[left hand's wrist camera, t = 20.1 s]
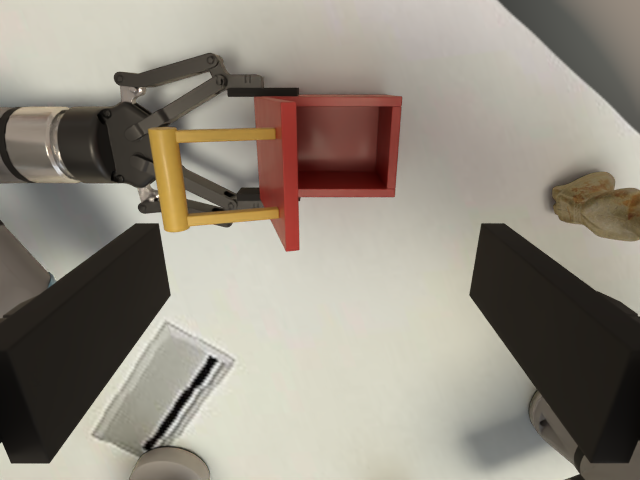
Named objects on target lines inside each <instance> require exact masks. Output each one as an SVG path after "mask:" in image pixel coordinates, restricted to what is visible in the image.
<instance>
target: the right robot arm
mask: <svg viewBox="0 0 640 480" xmlns="http://www.w3.org/2000/svg"><path fill="white" fill-rule="evenodd" d="M209 71H210V73H211V75H212V77H213V78H211V79H209V80H208V81H206V82H205V83H203V84H201V85H200V86H198V87H196V88H195V89H193V90H192V91H190V92H188V93H187V94H185V95H184V96H182V97H180V98H179V99H177V100H175V101H174V102H172V103H171V104H169V105H167V106H166V107H164V108H162V109H160V110H158V111H156V112H154V113H153V114H152V113H151V112H149V111H148V110H146V109H145V108H144V107H142V106H141V105H139V104H138V103H136V99H137V98H138V97H139V96H143V95H144V94H145V93H146V87H157V86H161V85H164V84H168V83H171V82H175V81H178V80H181V79H185V78H188V77H192V76H195V75H199V74H202V73H206V72H209ZM114 80H115V82H116V84H118V85H120V89H121V100H122V102H120V103H118V104H117V105H115V106H113V107H72V108H68V107H16V108H5V107H0V184H1V183H80V182H83V183H126V184H130V185H132V186H134V187H136V188H138V192H139V195H140V199H141V203H140V204H139V205H138V209H139V211H140V212H141V213H145V214H146V213H156V212H161V206H160V200H159V194H158V190H154V189H152V188H151V186H150V184H151V183H152V182H153V181H155V180H156V176H155V170H154V164H153V157H152V151H151V145H150V139H149V133H148V129H149V128H156V127H168V125H169V124H171V123H173V122H174V121H176V120H178V118H180V117H182V116H183V115H185V114H187V113H188V112H190V111H192V110H193V109H195V108H196V107H198V106H200V105H201V104H203V103H205V102H206V101H208V100H210V99H211V98H213V97H215V96H216V95H218V94H220V93H221V92H223V91H225V90H226V89H227V91H228V97H261V96H299V88H264V79H263V77H261V76H259V75H231V74H229V73H228V72H227V70H226V68H225V66H224V64H223V59H222V57H220V56H219V55H216V54H213V53H207V54H204V55H200V56H197V57H194V58H190V59H187V60H183V61H180V62H177V63H173V64H170V65H166V66H163V67H159V68H156V69H153V70H149V71H146V72H142V73H128V72H117V73H115V75H114ZM182 171H183V178H184V186H185V189H186V190H188V191H190V192H192V193H194V194H196V195H198V196H200V197H202V198H204V199H206V200H208V201H210V202H212V203H214V204H216V205H218V206H221V207H217V206H213V205H209V204H205V203H201V202H196V201H192V200H188V199H186V200H187V208H188V214H192V213H204V212H217V211H230V210H242V209H255V208H265V207H264V205H263V203H262V201H261V199H260V189H259V188H241V189H240V190H239V191H238V193H237V194H236V193H233V192H231V191H229V190H227V189H225V188H223V187H221V186H219V185H217V184H215V183H213V182H211V181H209V180H207V179H205V178H203V177H201V176H199V175H197V174H195V173H193V172H191V171H189V170H187V169H185V167H184V166H182ZM298 201H300V197H298ZM222 207H223V208H222ZM232 223H233V222H232ZM232 223H220V224H214V225H218V226H222V227H230V226H231V225H232ZM54 283H56V280H55V278H54V276H53V275H52V274H51V273H50V272H47V271H46V270H45V269H44V268H43V267H42V266H41V265H40V263H39V262H38V261H37V260H36V259H35V258H34V257H33V256H32V255H31V254H30V253H29V252H28V251H27V249H26V248H25V247H24V246H23V245H22V244H21V243H20V242H19V241H18V240H17V239H16V238H15V237H14V235H13V234H12V233H11V232H10V231H9V230H8V229H7V228H6V227H5V225H4V223H3V222H2V221H1V220H0V318H3V315H4V314H6V313H7V312H9V311H10V310H11V309H13V308H14V307H16V306H17V305H18V304H20V303H22V302H24V301H26V300H28V299H30V298H32V297H35V296H37V295H39V294H41V293H42V292H43V291H45V290H46V289H47V288H49V287H50V286H52V285H53V284H54Z"/></svg>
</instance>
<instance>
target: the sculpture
mask: <svg viewBox="0 0 640 480" xmlns="http://www.w3.org/2000/svg"><path fill="white" fill-rule="evenodd" d="M614 186H615V179H614V177H613V176H612V175H611V174H609V173H607V172H595V173H591V174H588V175H586V176H583V177H581V178H579V179H577V180H575V181H573V182H571V183H569V184H566V185H563V186H561V185H558V186H556V187H554V188H553V189H552V197H553V199H554V200H555V201H556V203H555V204H554V205H553V208H554V212H555V214H557V215H558V217H559V219H560V220H561V221H565V222H567V223H573V224H582V225H585V226H586V227H587V228H588V229H590V230H591V231H592V232H593V233H594V234H596V235H597V236H600V237H603V238H609V239H615V240H622V241H637V240H640V190H638V189H635V188H623V189H617V190H614Z"/></svg>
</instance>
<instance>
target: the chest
mask: <svg viewBox="0 0 640 480" xmlns="http://www.w3.org/2000/svg"><path fill="white" fill-rule="evenodd" d="M261 97H269V98H275V99H281V100H287V101H293V102H296V116H297V162H298V197H395V185H396V172H397V159H398V146H399V133H400V120H401V106H402V97H401V96H392V95H299V96H261Z"/></svg>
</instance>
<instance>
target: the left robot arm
mask: <svg viewBox="0 0 640 480" xmlns="http://www.w3.org/2000/svg"><path fill="white" fill-rule="evenodd" d="M170 295H171V294H170V289H169V283H168V277H167V271H166V265H165V259H164V253H163V247H162V241H161V235H160V229H159V223H136V224H134V225H133V226H132V227H130V228H129V229H128V230H126V231H125V232H124V233H122V234H121V235H119V236H118V237H117V238H115V239H114V240H113V241H111V242H110V243H109V244H107V245H106V246H104V247H103V248H102V249H100V250H99V251H98V252H96V253H95V254H94V255H92V256H91V257H90V258H88V259H87V260H85V261H84V262H83V263H81V264H80V265H79V266H77V267H76V268H75V269H73V270H72V271H71V272H69V273H68V274H66V275H65V276H64V277H62V278H61V279H60V280H58V281H57V282H56V283H54V284H53V285H52V286H50V287H49V288H47V289H46V290H45V291H43V292H42V293H41V294H39V295H37V296H35V297H32V298H30V299H28V300H26V301H24V302H22V303H20V304H18V305H17V306H16V307H14V308H13V309H11V310H10V311H9V312H7V313H6V314H4V315H3V318H0V443H1V442H2V443H3V445H4V448H5V450H6V452H7V455H8V457H9V459H10V462H11V463H50V462H51V461H52V459H53V458H54V456H55V455H56V454H57V452H58V451H59V449H60V448H61V447H62V445H63V444H64V443H65V441H66V440H67V438H68V437H69V436H70V434H71V433H72V431H73V430H74V429H75V427H76V426H77V424H78V423H79V422H80V420H81V419H82V418H83V416H84V415H85V413H86V412H87V411H88V409H89V408H90V406H91V405H92V404H93V402H94V401H95V399H96V398H97V397H98V395H99V394H100V393H101V391H102V390H103V388H104V387H105V386H106V384H107V383H108V381H109V380H110V379H111V377H112V376H113V374H114V373H115V372H116V370H117V369H118V368H119V366H120V365H121V363H122V362H123V361H124V359H125V358H126V356H127V355H128V354H129V352H130V351H131V350H132V348H133V347H134V345H135V344H136V343H137V341H138V340H139V338H140V337H141V336H142V334H143V333H144V331H145V330H146V329H147V327H148V326H149V325H150V323H151V322H152V320H153V319H154V318H155V316H156V315H157V313H158V312H159V311H160V309H161V308H162V306H163V305H164V304H165V302H166V301H167V300H168V298H169V297H170ZM469 295H470V297H471V298H472V300H473V301H474V302H475V304H476V305H477V306H478V308H479V309H480V311H481V312H482V313H483V315H484V316H485V318H486V319H487V320H488V322H489V323H490V325H491V326H492V327H493V329H494V330H495V331H496V333H497V334H498V336H499V337H500V338H501V340H502V341H503V343H504V344H505V345H506V347H507V348H508V350H509V351H510V352H511V354H512V355H513V356H514V358H515V359H516V361H517V362H518V363H519V365H520V366H521V368H522V369H523V370H524V372H525V373H526V374H527V376H528V377H529V379H530V380H531V381H532V383H533V384H534V386H535V387H536V388H537V392H536V393H535V394H534V396H533V398H532V400H531V403H530V407H529V416H530V420H531V422H532V424H533V426H534V427H535V429H536V431H537V432H538V433H539V435H540V436H541V437H542V438H543V439H544V440H545V441H546V442H547V443H548V444H549V445H551V446H552V447H553V448H554V449H555V450H557V451H558V452H559V453H560V454H561V455H562V456H564V457H565V458H566V459H567V460H568V461H570V462H571V463H572V464H573V465H574V466H575V467H576V469H577V470H578V472H579V473H580V474H579V475H576V476H574V477H571V478H568V479H565V480H640V317H638V314H637V313H635V312H634V311H633V310H631V309H630V308H628V307H627V306H626V305H624V304H623V303H621V302H620V301H618V300H615V299H613V298H611V297H609V296H607V295H605V294H602V293H600V292H598V291H595V290H594V289H593V288H591V287H590V286H588V285H587V284H586V283H584V282H583V281H582V280H580V279H579V278H578V277H576V276H575V275H574V274H572V273H571V272H569V271H568V270H567V269H565V268H564V267H563V266H561V265H560V264H559V263H557V262H556V261H555V260H553V259H552V258H550V257H549V256H548V255H546V254H545V253H544V252H542V251H541V250H540V249H538V248H537V247H536V246H534V245H533V244H531V243H530V242H529V241H527V240H526V239H525V238H523V237H522V236H521V235H519V234H518V233H516V232H515V231H514V230H512V229H511V228H510V227H508V226H507V225H506V224H504V223H481V229H480V235H479V241H478V247H477V253H476V259H475V265H474V271H473V277H472V283H471V289H470V294H469Z"/></svg>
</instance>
